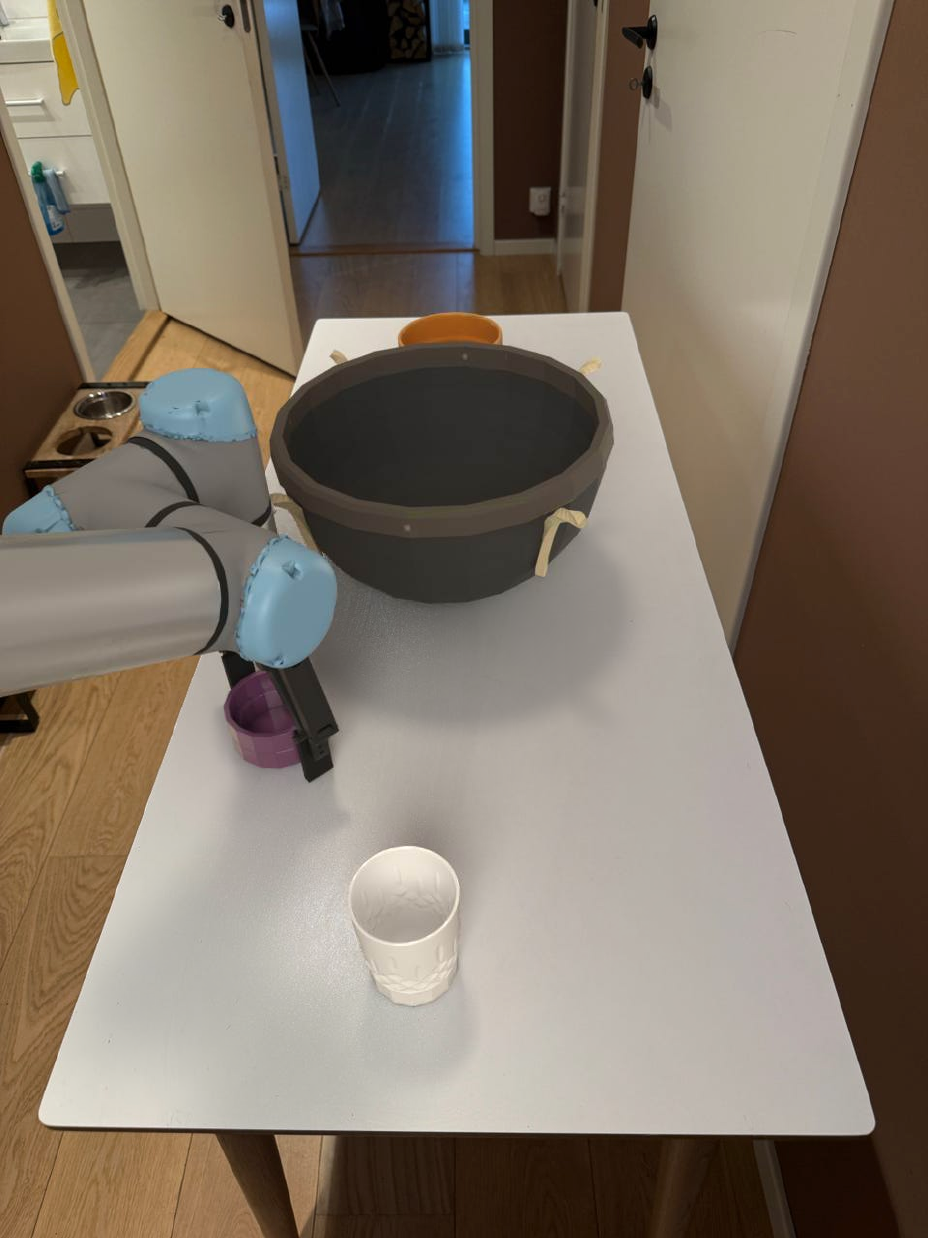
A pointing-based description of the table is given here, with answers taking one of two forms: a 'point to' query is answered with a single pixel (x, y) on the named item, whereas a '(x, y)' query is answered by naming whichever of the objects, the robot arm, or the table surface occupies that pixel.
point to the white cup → (407, 922)
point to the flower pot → (451, 329)
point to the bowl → (442, 465)
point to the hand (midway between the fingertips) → (282, 734)
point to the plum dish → (260, 723)
